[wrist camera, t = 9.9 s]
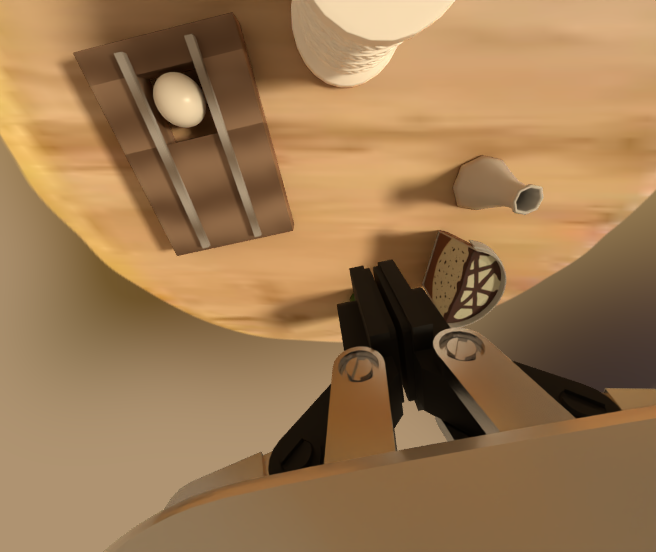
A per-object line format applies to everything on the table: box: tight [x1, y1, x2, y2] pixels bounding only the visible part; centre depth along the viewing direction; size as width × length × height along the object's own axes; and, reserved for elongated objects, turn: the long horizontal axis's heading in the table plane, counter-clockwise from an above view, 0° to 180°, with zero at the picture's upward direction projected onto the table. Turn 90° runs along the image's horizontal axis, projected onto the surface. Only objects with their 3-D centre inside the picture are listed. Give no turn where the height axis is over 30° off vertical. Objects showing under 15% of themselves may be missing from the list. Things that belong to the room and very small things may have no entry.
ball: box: [153, 72, 206, 128], centre depth 30 cm, size 5×5×5 cm
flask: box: [453, 155, 543, 215], centre depth 34 cm, size 7×7×10 cm
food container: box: [422, 230, 506, 328], centre depth 39 cm, size 12×6×10 cm, turn 174°
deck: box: [73, 12, 294, 256], centre depth 33 cm, size 22×16×4 cm
